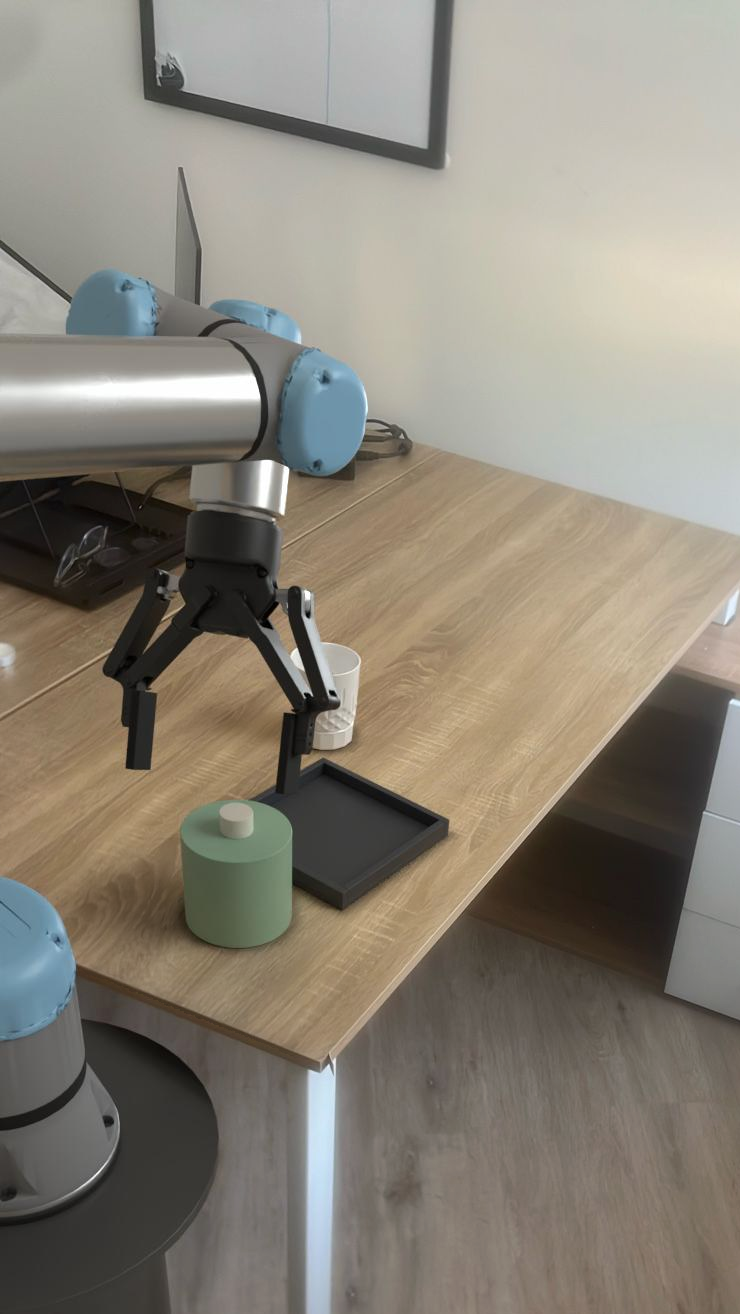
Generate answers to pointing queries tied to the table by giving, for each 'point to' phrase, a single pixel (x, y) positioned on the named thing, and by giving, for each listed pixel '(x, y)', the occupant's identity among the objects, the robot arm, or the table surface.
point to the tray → (350, 831)
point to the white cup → (345, 670)
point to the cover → (237, 873)
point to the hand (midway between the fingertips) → (211, 781)
